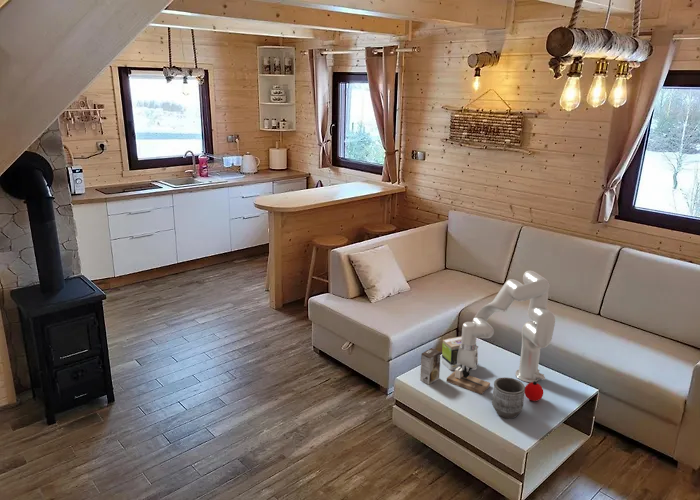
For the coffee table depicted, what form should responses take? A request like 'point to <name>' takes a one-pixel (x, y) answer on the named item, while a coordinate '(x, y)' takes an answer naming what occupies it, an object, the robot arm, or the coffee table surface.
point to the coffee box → (430, 366)
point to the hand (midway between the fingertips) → (465, 376)
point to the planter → (508, 397)
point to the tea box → (451, 352)
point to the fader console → (469, 383)
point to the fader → (459, 372)
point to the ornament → (533, 391)
